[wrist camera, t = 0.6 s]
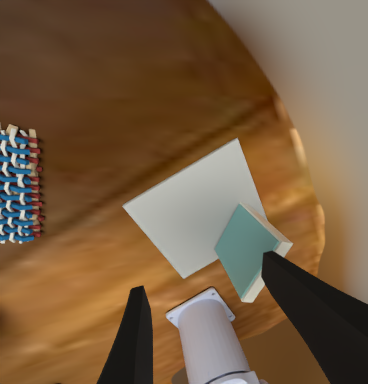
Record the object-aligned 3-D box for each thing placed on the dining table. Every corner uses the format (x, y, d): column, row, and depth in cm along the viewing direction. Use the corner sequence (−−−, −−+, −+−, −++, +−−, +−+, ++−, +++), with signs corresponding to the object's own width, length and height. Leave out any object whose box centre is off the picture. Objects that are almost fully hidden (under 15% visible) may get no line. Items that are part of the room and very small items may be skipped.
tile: (248, 204, 22) (293, 243, 15) (222, 251, 24) (252, 302, 18) (238, 201, 21) (280, 241, 15) (213, 249, 23) (240, 301, 17)
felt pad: (268, 226, 24) (270, 228, 24) (182, 276, 25) (183, 278, 24) (235, 137, 18) (237, 138, 18) (122, 204, 19) (122, 206, 18)
